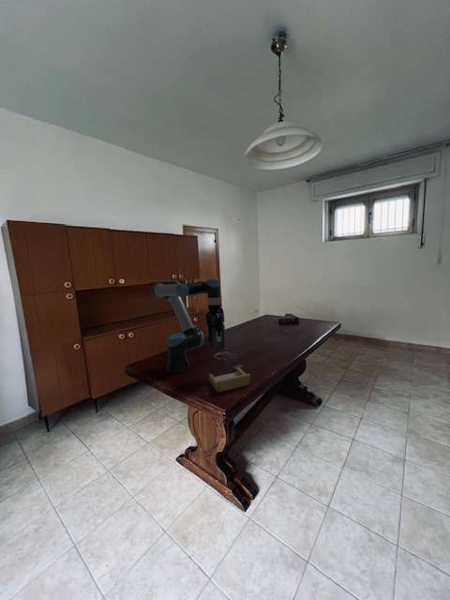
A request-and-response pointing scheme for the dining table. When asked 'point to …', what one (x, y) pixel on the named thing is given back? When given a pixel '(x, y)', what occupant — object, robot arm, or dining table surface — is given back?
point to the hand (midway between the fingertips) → (216, 338)
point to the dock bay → (230, 380)
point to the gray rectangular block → (238, 367)
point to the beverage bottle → (212, 330)
